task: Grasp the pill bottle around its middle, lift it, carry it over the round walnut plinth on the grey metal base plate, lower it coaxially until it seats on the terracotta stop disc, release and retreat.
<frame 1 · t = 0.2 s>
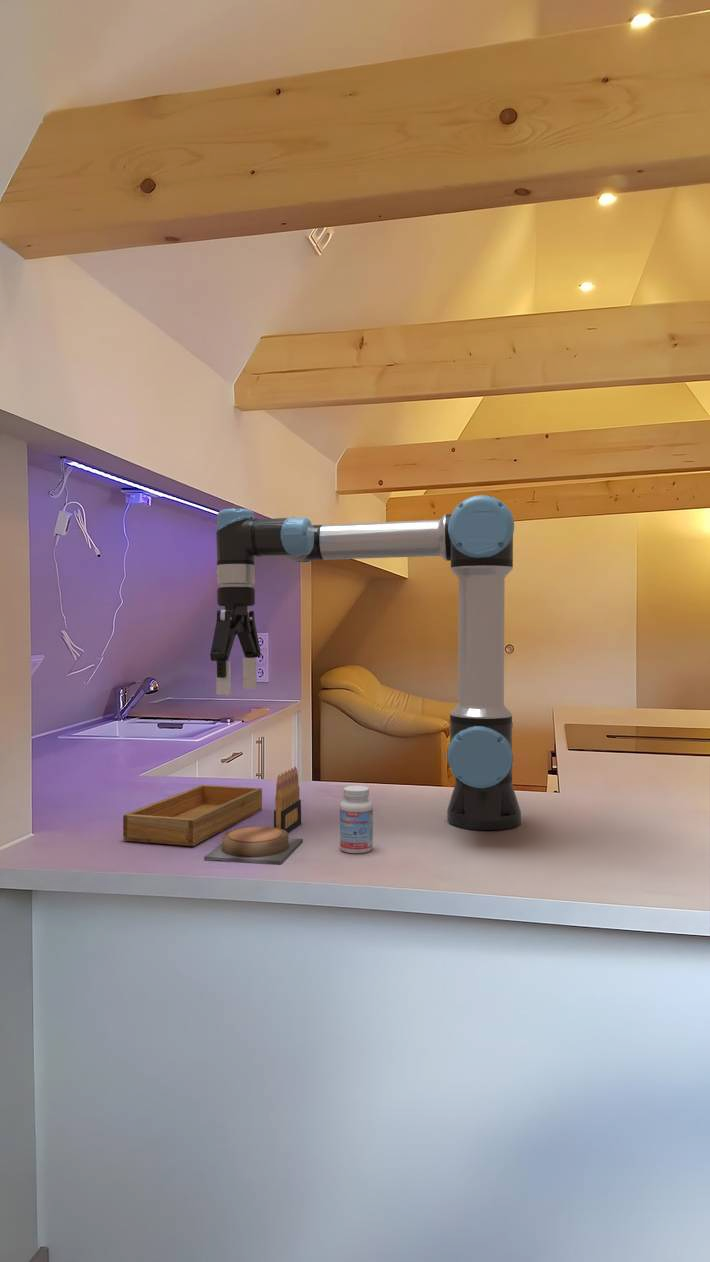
hand: (237, 691, 157), 28 cm above the table, fingers open, 13 cm apart
pill bottle: (356, 850, 142), on the table
tray: (197, 827, 160), on the table
plinth: (255, 850, 142), on the table
colored pencil set: (288, 831, 156), on the table
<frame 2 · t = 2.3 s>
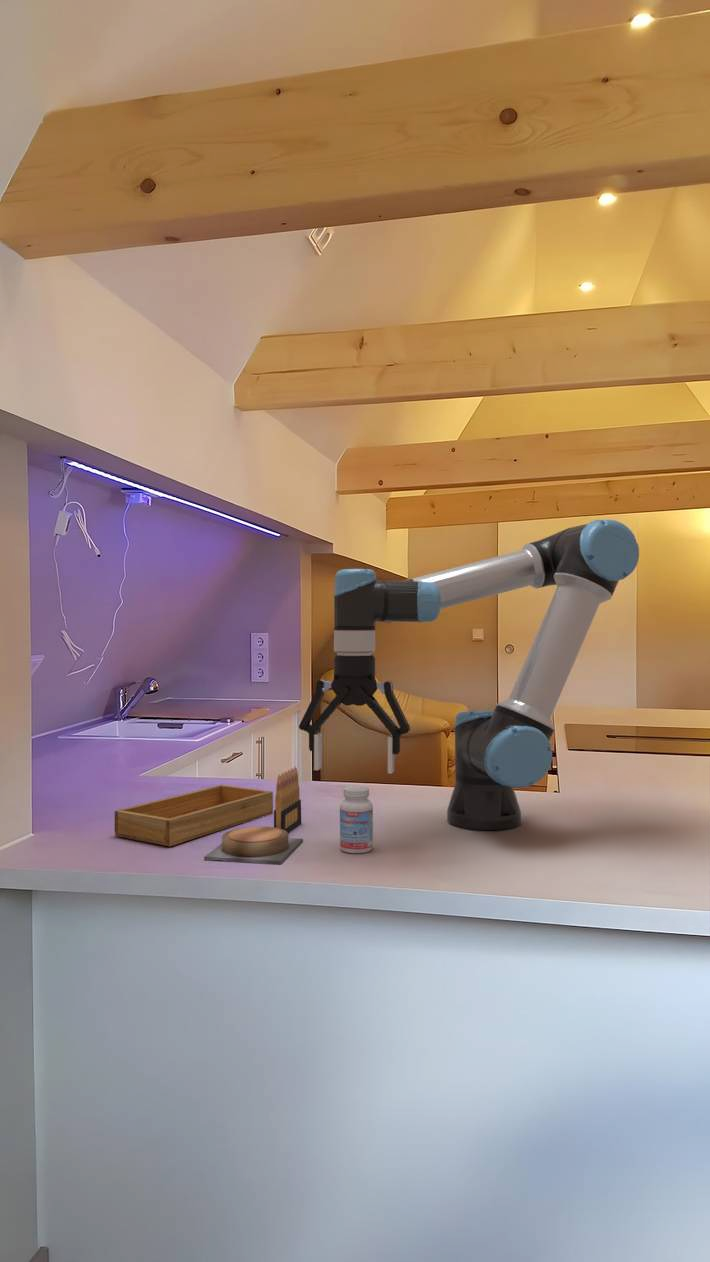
hand: (354, 770, 142), 14 cm above the table, fingers open, 13 cm apart
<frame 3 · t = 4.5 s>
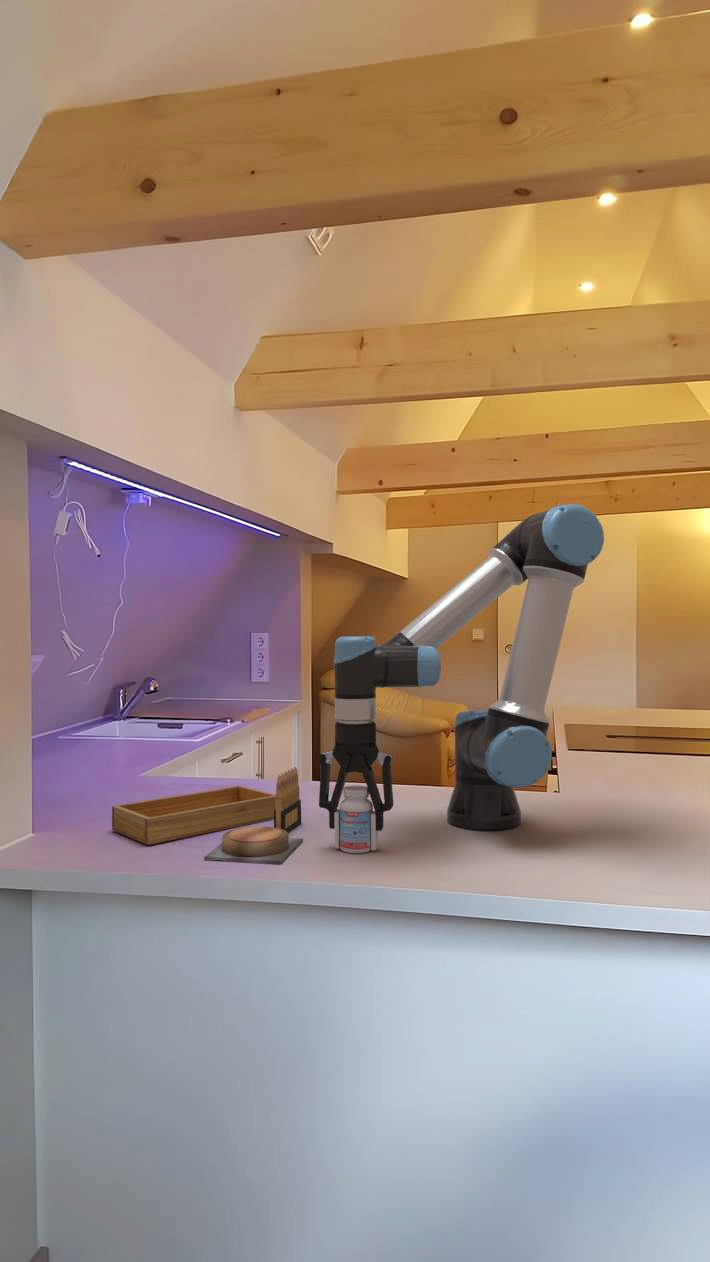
hand: (356, 847, 142), 0 cm above the table, fingers closed on pill bottle, 6 cm apart
pill bottle: (356, 850, 142), on the table, touching gripper
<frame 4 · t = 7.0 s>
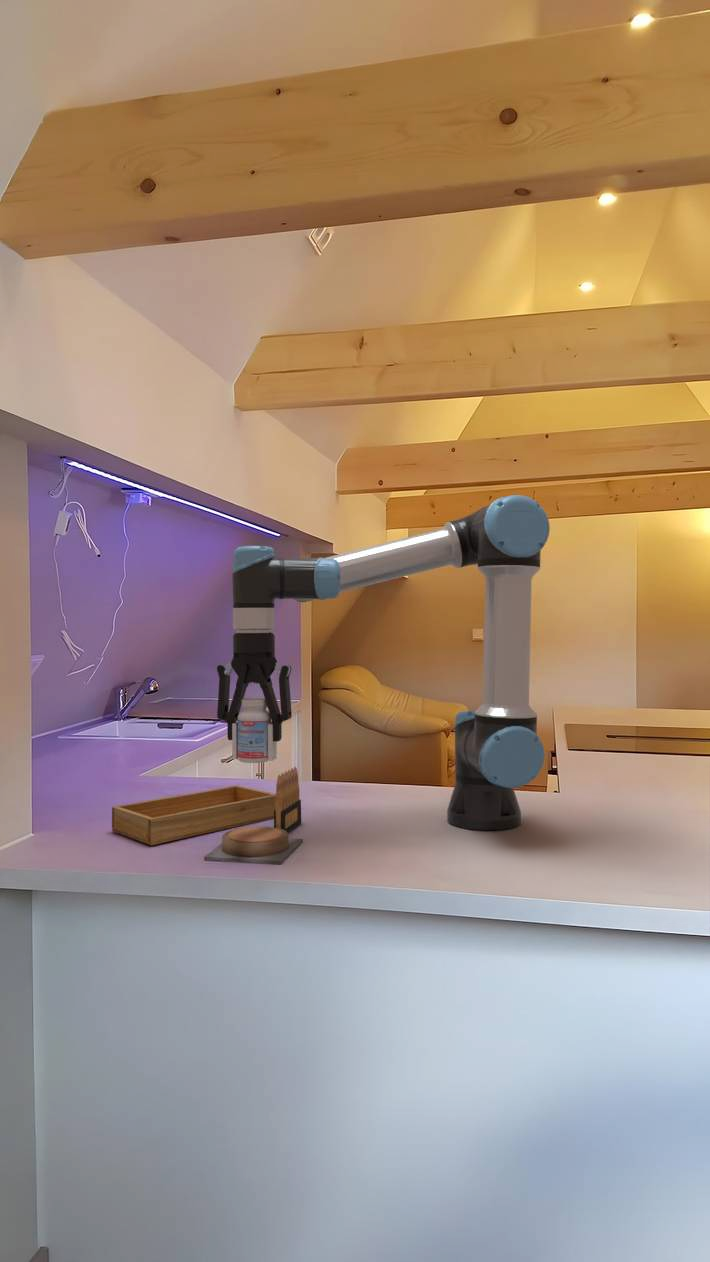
hand: (254, 758, 141), 17 cm above the table, fingers closed on pill bottle, 6 cm apart
pill bottle: (254, 761, 141), point 16 cm above the table, touching gripper
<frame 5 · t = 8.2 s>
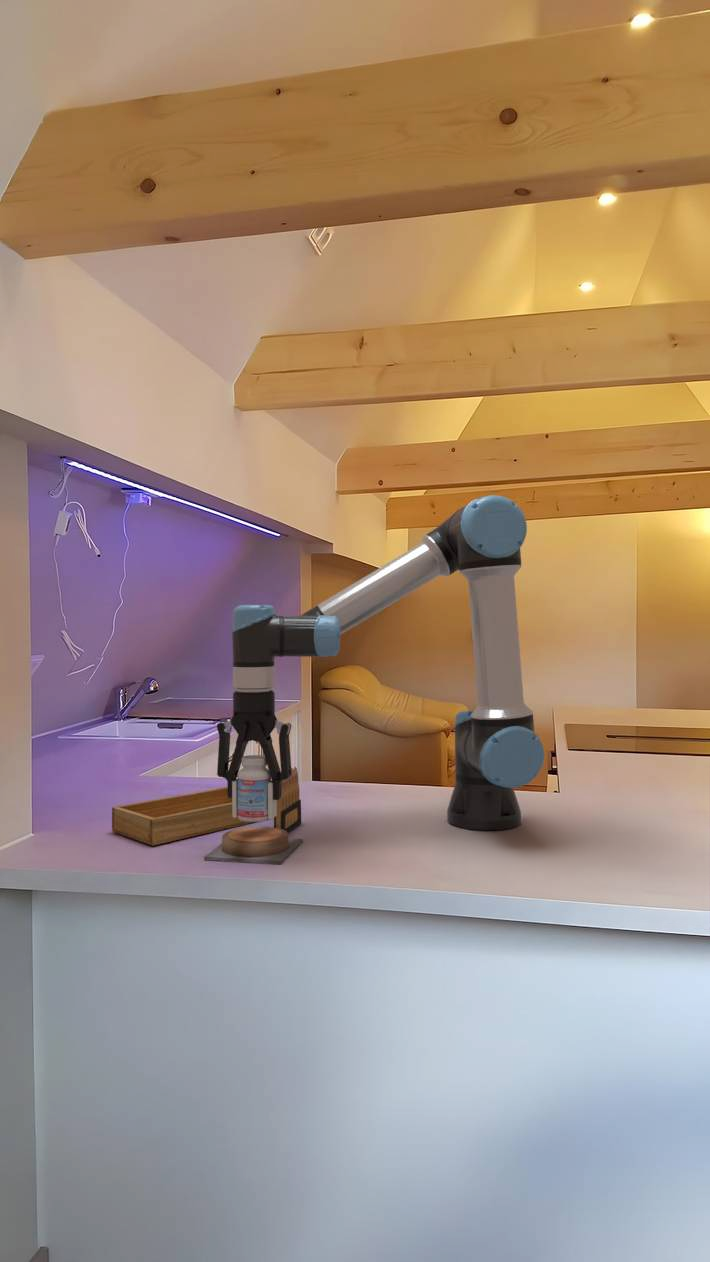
hand: (254, 816, 141), 6 cm above the table, fingers closed on pill bottle, 6 cm apart
pill bottle: (254, 819, 141), point 6 cm above the table, touching gripper
when the fingers open (5 cm above the table, at t = 9.5 s): pill bottle drops 1 cm, resting on plinth.
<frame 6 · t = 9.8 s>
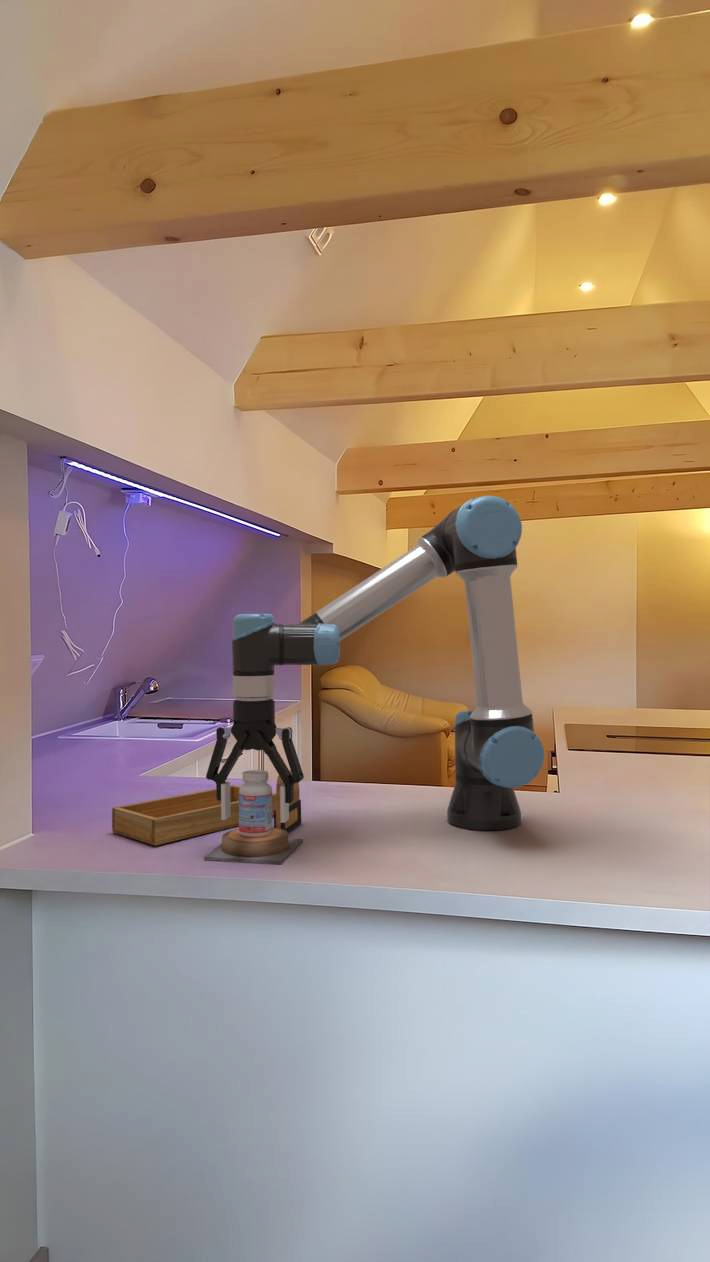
hand: (255, 819, 141), 6 cm above the table, fingers open, 10 cm apart
pill bottle: (255, 834, 141), point 3 cm above the table, touching plinth
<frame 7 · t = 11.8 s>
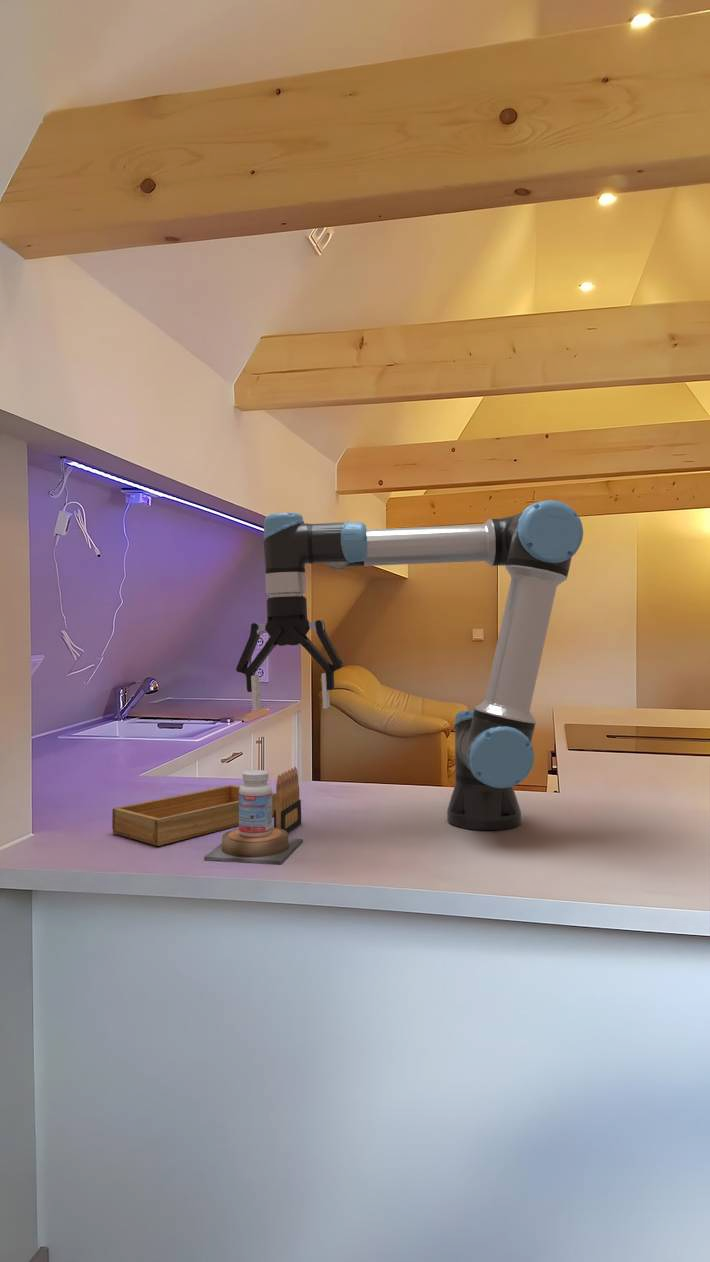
hand: (291, 708, 147), 25 cm above the table, fingers open, 13 cm apart
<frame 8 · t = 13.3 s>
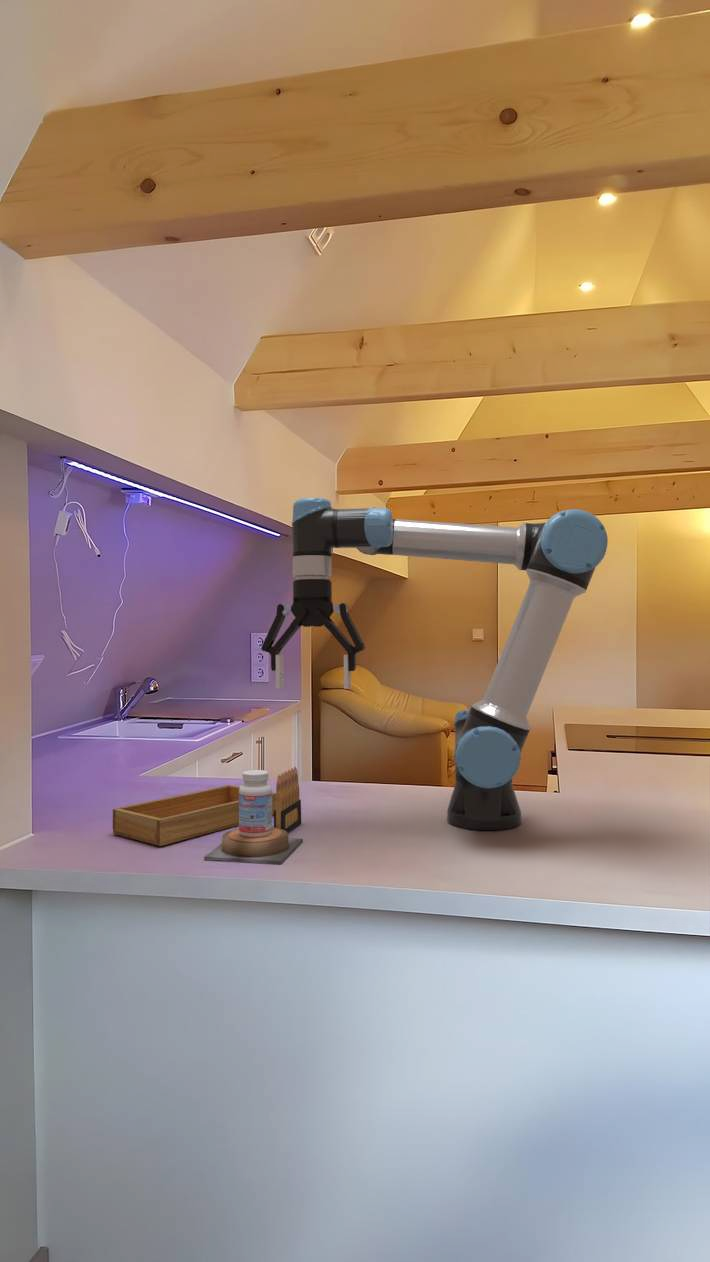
hand: (313, 688, 151), 29 cm above the table, fingers open, 13 cm apart
at the end: pill bottle 0.1 cm from the plinth (horizontally); pill bottle point 2.9 cm above the table; pill bottle tilted 0° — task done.
